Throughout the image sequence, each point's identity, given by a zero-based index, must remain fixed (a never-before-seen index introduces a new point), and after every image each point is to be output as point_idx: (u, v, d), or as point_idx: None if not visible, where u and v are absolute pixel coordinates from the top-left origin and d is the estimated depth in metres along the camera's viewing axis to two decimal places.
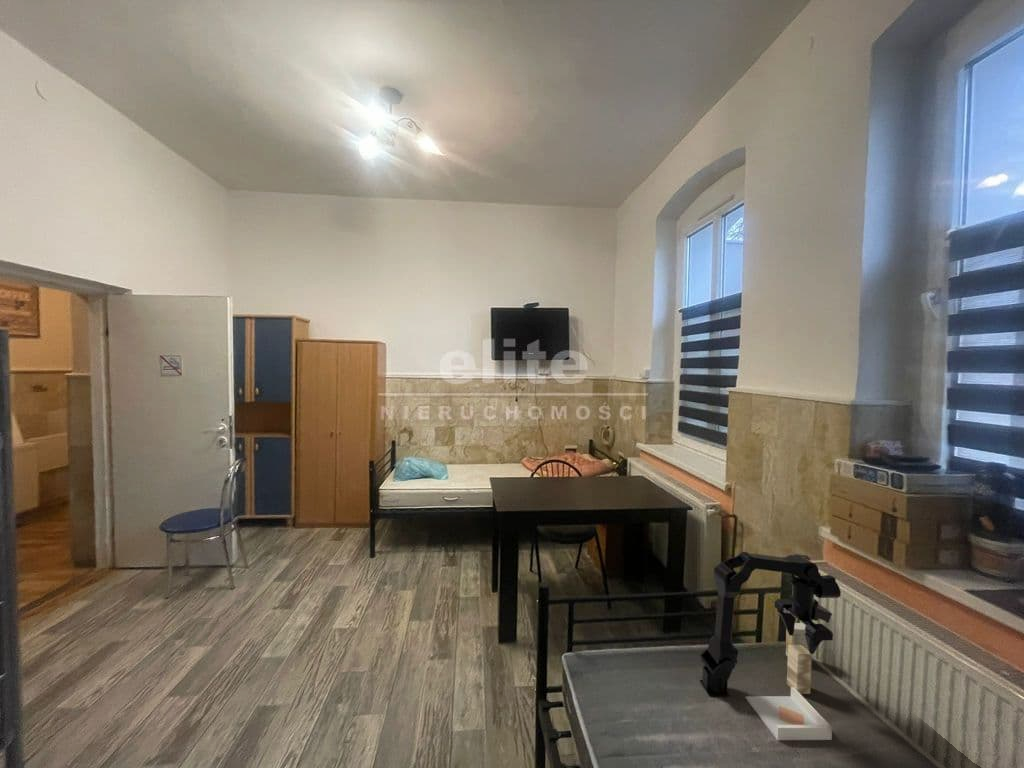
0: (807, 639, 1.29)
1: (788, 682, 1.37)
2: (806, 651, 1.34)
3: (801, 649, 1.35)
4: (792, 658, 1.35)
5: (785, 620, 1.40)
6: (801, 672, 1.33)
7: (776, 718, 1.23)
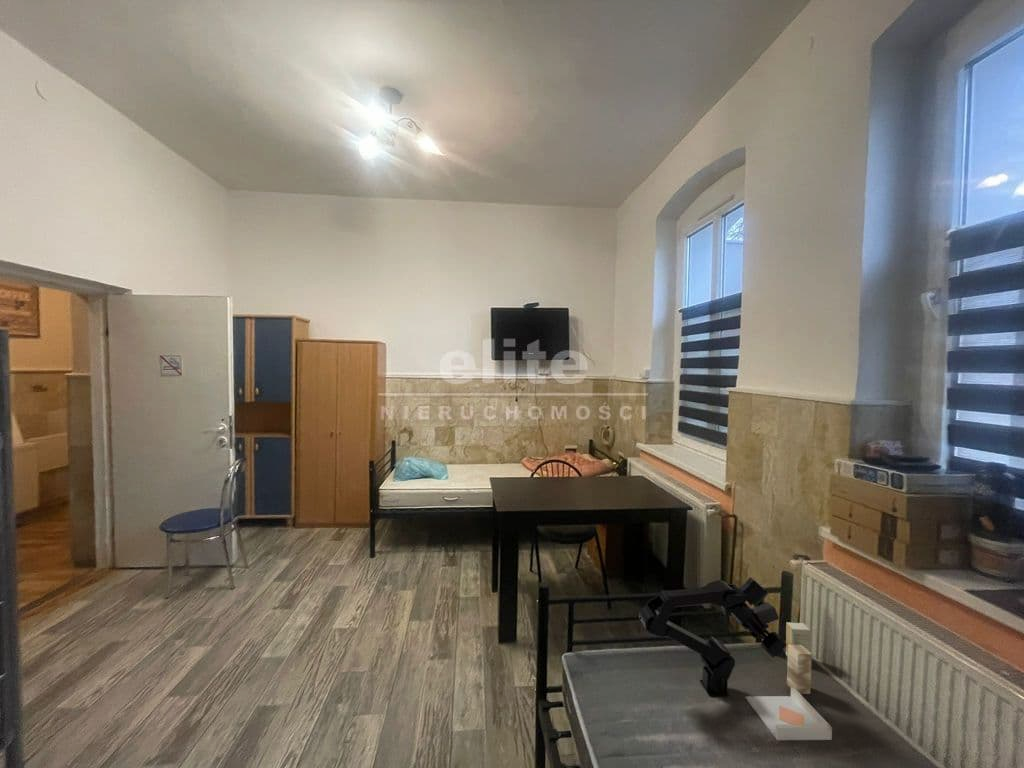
0: None
1: (788, 682, 1.37)
2: (806, 651, 1.34)
3: (801, 649, 1.35)
4: (792, 658, 1.35)
5: None
6: (801, 672, 1.33)
7: (776, 718, 1.23)
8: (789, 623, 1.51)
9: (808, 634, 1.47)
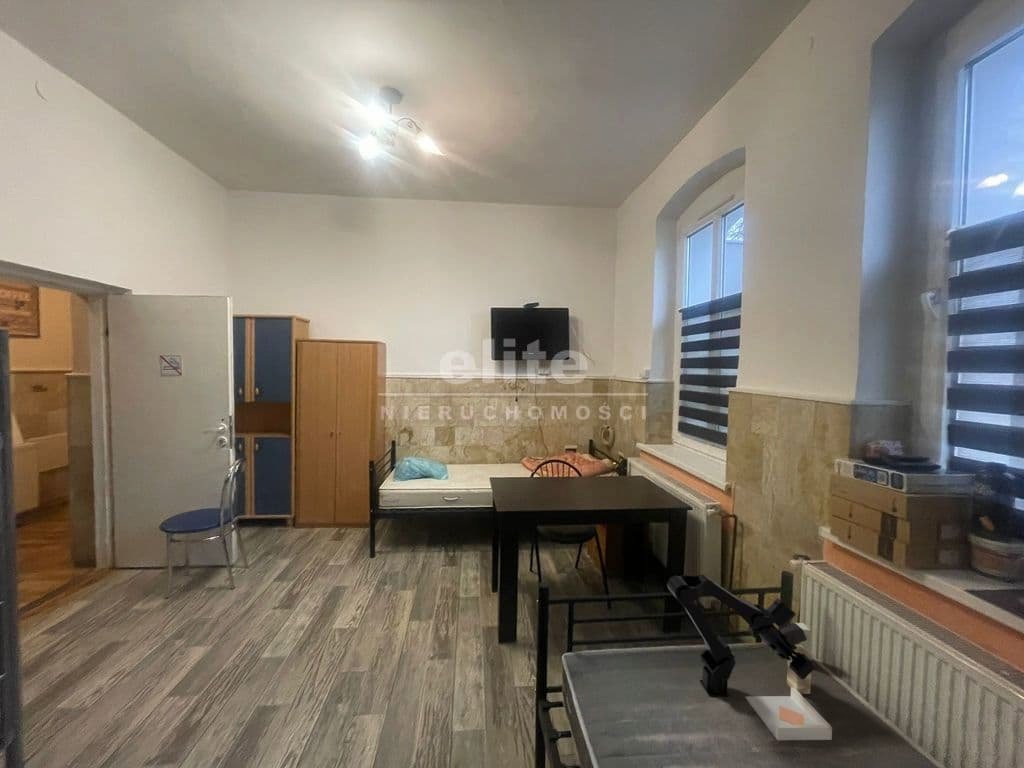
0: None
1: (788, 682, 1.37)
2: (806, 651, 1.34)
3: (801, 649, 1.35)
4: None
5: None
6: None
7: (776, 718, 1.23)
8: None
9: (808, 634, 1.47)
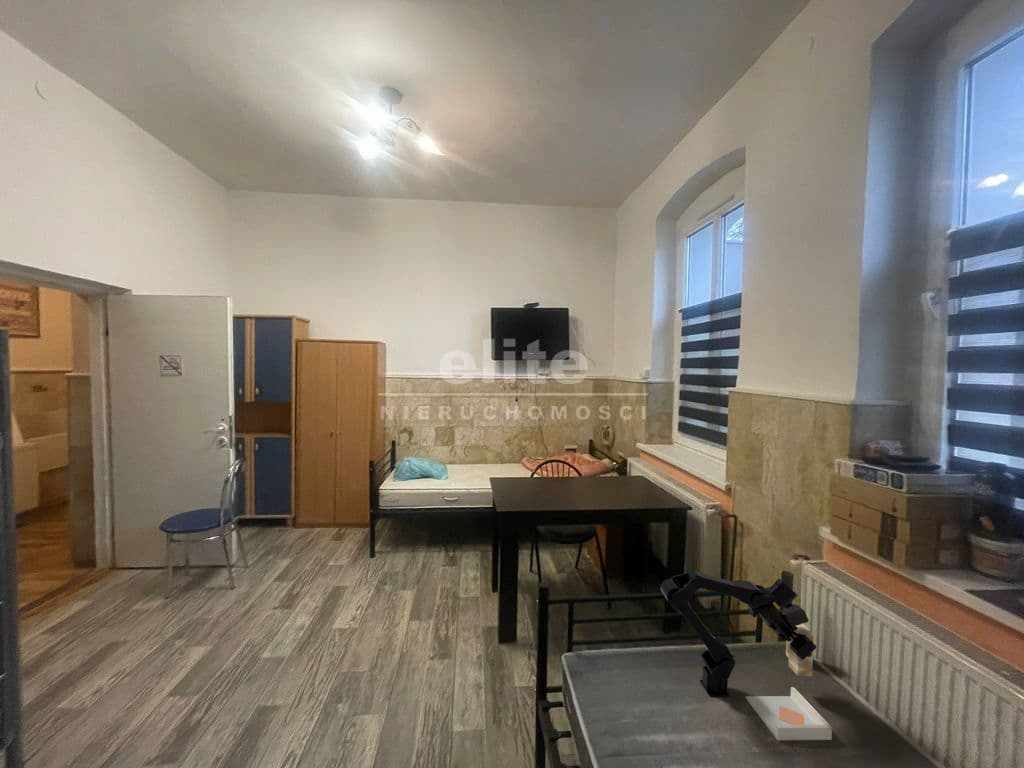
0: None
1: (790, 664, 1.35)
2: (808, 633, 1.33)
3: (803, 631, 1.34)
4: None
5: (785, 638, 1.36)
6: None
7: (776, 718, 1.23)
8: None
9: None
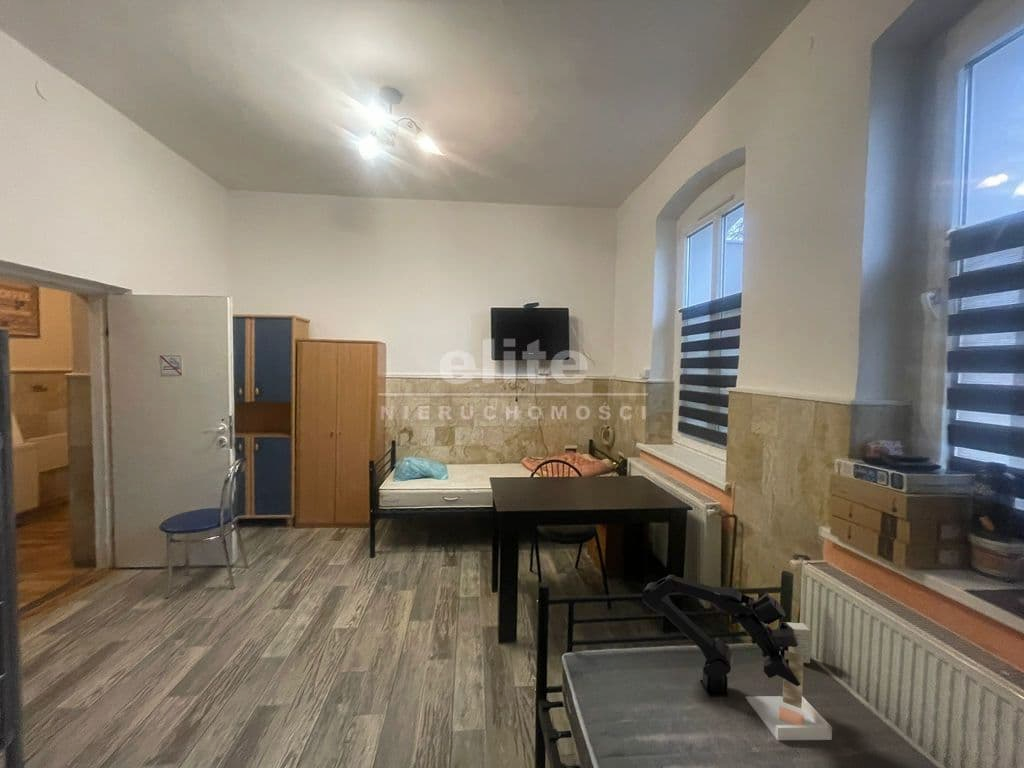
0: None
1: None
2: (799, 661, 1.21)
3: (795, 657, 1.23)
4: None
5: None
6: None
7: (776, 718, 1.23)
8: (789, 623, 1.51)
9: (808, 634, 1.47)
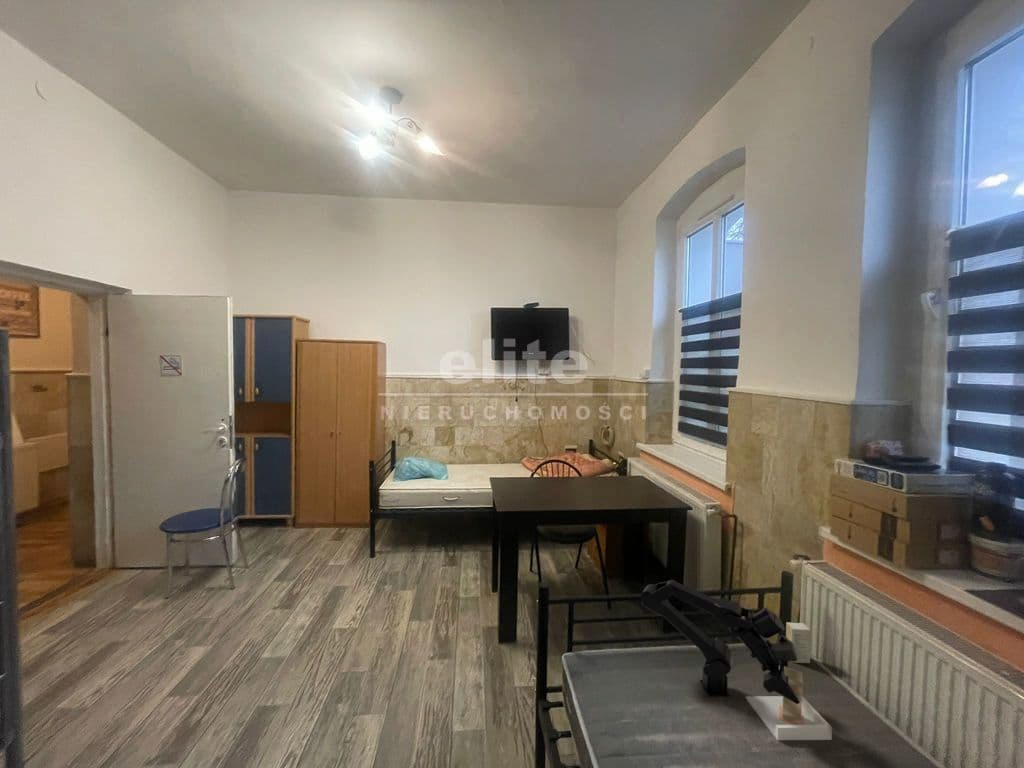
0: None
1: None
2: (799, 677, 1.21)
3: (795, 674, 1.23)
4: None
5: None
6: None
7: (776, 718, 1.23)
8: (789, 623, 1.51)
9: (808, 634, 1.47)
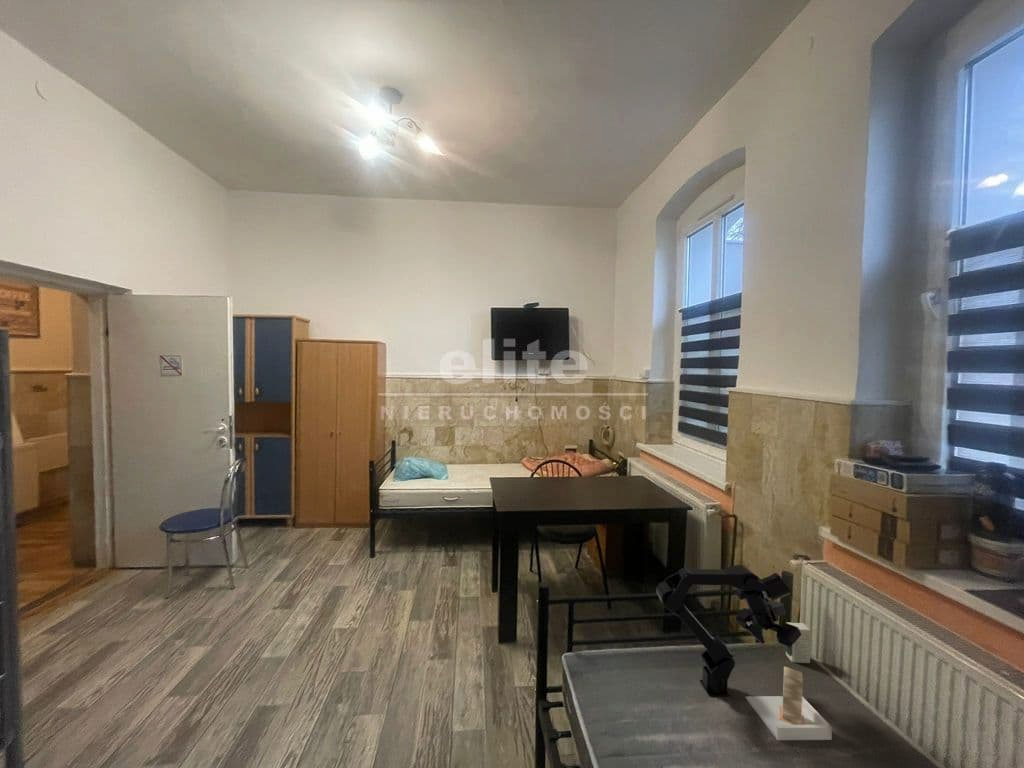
0: (783, 646, 1.27)
1: None
2: (799, 677, 1.21)
3: (795, 674, 1.23)
4: None
5: (753, 633, 1.37)
6: (788, 696, 1.22)
7: (776, 718, 1.23)
8: (789, 623, 1.51)
9: (808, 634, 1.47)
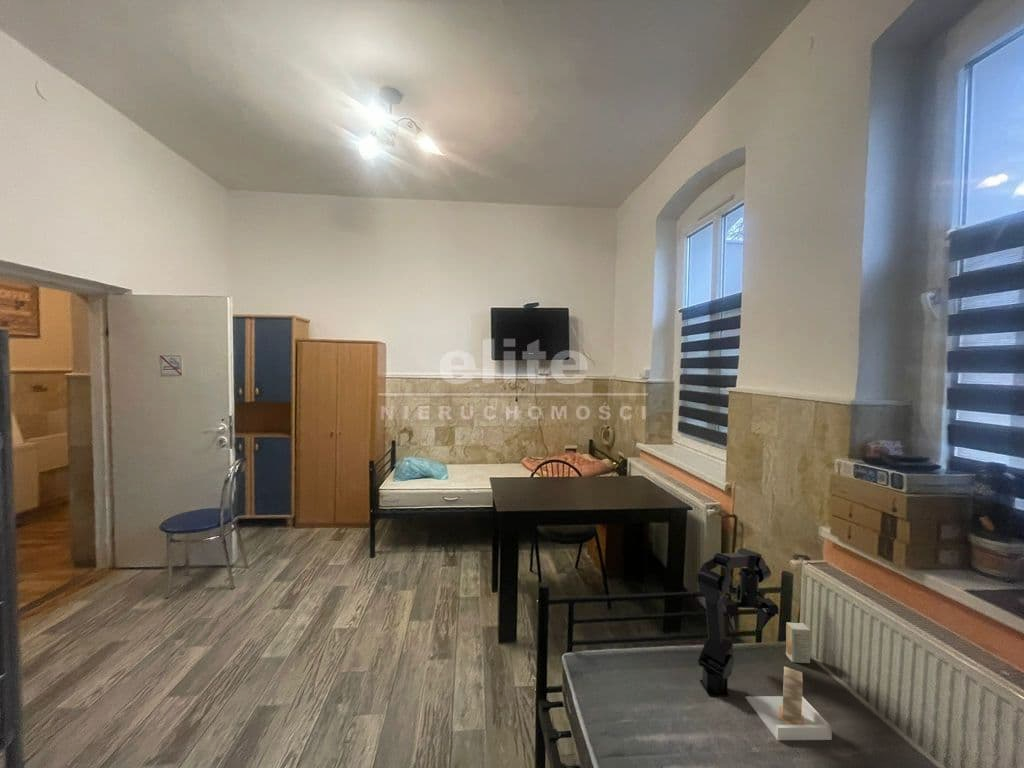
0: (768, 618, 1.45)
1: None
2: (799, 677, 1.21)
3: (795, 674, 1.23)
4: None
5: None
6: (788, 696, 1.22)
7: (776, 718, 1.23)
8: (789, 623, 1.51)
9: (808, 634, 1.47)
